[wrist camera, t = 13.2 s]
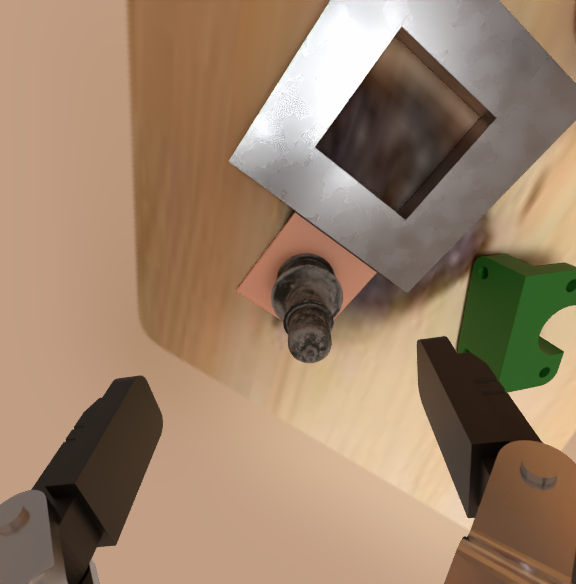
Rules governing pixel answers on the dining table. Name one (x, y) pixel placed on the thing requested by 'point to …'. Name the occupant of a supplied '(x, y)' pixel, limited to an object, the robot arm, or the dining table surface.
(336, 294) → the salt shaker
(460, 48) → the grey square frame
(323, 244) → the tile
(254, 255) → the dining table surface
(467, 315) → the clamp
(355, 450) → the dining table surface
